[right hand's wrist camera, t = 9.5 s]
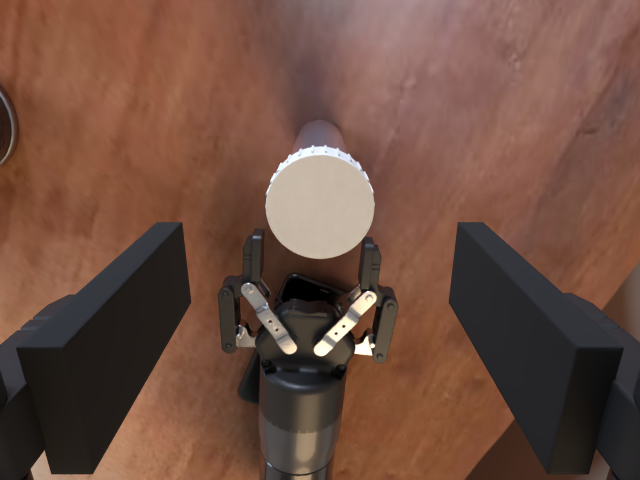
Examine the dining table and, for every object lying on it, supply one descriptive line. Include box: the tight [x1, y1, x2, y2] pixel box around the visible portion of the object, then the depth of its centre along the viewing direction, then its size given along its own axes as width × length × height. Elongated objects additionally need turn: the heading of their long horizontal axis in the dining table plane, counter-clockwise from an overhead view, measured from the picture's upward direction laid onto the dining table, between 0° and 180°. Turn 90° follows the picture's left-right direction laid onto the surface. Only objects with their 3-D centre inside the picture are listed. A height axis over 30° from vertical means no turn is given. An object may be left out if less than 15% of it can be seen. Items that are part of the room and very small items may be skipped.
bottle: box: [290, 120, 350, 156], centre depth 29 cm, size 4×4×20 cm
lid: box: [265, 145, 375, 259], centre depth 20 cm, size 5×5×2 cm
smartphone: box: [238, 273, 349, 405], centre depth 45 cm, size 8×1×16 cm
